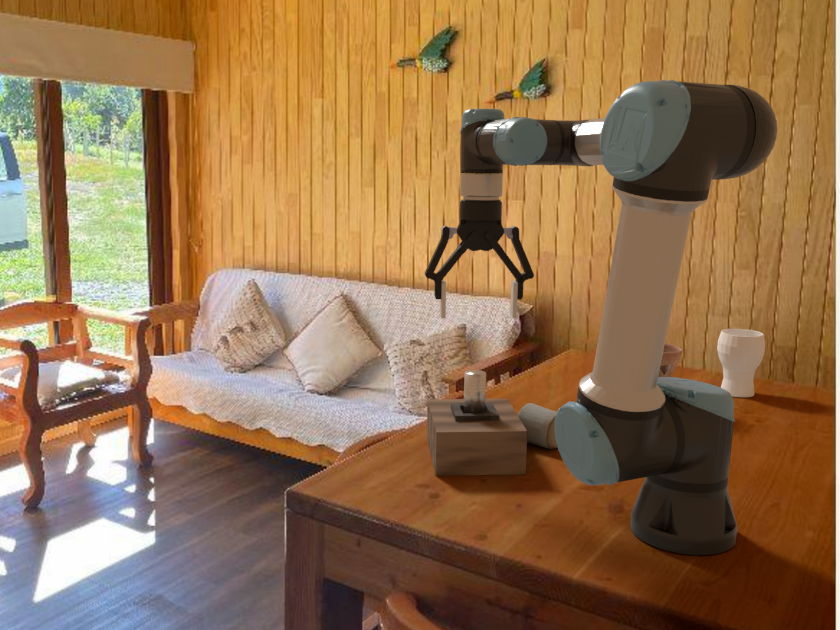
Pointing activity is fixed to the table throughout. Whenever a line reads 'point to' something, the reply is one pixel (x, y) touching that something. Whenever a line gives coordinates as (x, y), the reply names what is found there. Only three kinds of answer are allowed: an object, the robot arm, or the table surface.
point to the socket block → (475, 438)
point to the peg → (474, 391)
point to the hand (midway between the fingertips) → (478, 317)
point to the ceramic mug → (539, 425)
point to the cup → (740, 359)
